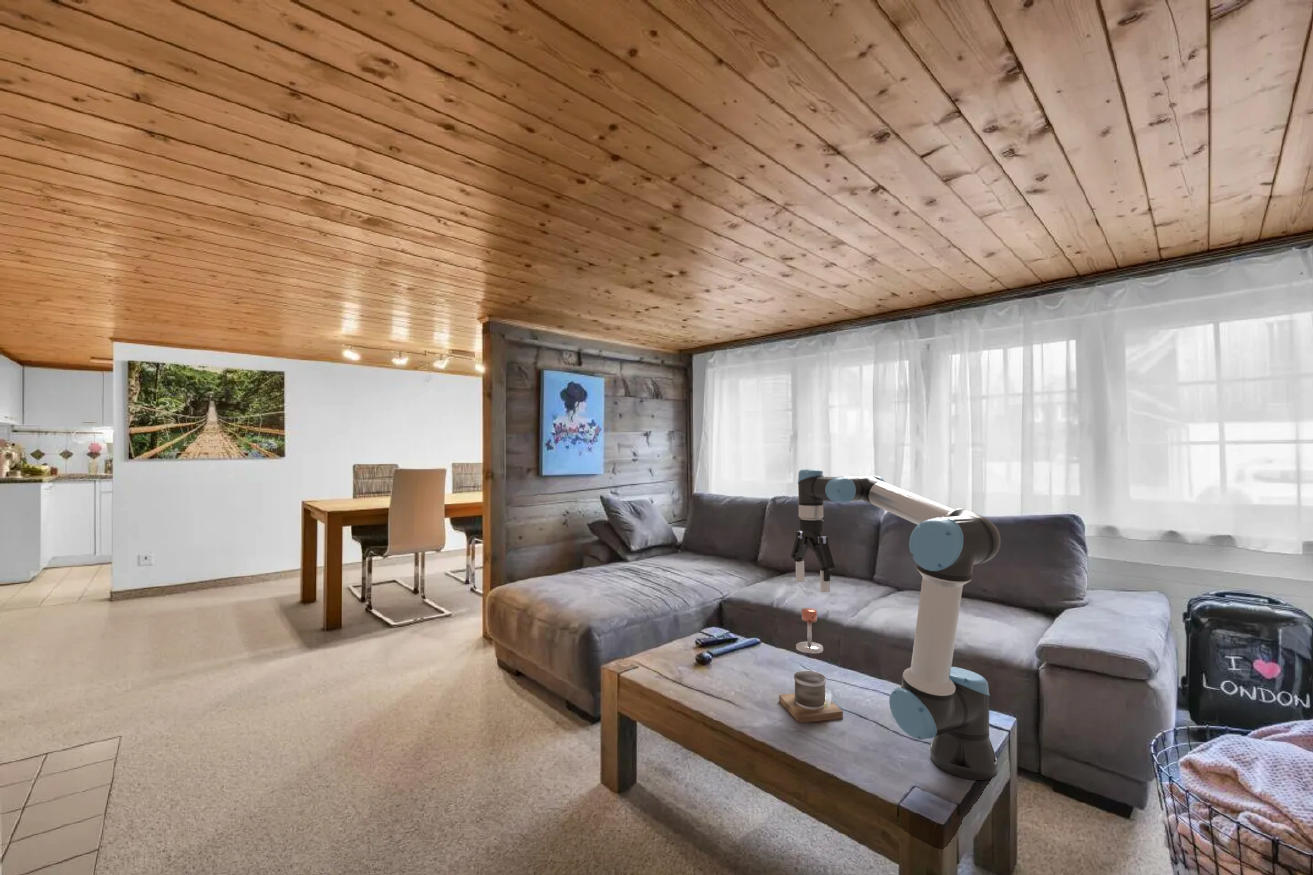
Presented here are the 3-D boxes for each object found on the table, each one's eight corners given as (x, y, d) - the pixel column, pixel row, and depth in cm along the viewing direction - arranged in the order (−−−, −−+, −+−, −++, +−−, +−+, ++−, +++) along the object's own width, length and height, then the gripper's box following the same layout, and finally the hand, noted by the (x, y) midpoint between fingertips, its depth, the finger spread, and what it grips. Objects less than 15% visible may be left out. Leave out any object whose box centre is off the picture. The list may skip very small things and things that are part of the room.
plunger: (828, 652, 167) (827, 613, 167) (803, 654, 165) (803, 614, 165) (815, 643, 174) (815, 605, 175) (791, 645, 173) (791, 607, 173)
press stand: (842, 718, 164) (842, 684, 164) (799, 722, 161) (798, 688, 161) (819, 696, 178) (819, 665, 178) (779, 701, 175) (778, 669, 175)
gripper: (846, 522, 163) (847, 595, 162) (799, 513, 186) (800, 576, 186) (824, 523, 160) (825, 597, 160) (780, 514, 184) (780, 578, 184)
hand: (812, 586), depth 173 cm, fingers open, 13 cm apart
